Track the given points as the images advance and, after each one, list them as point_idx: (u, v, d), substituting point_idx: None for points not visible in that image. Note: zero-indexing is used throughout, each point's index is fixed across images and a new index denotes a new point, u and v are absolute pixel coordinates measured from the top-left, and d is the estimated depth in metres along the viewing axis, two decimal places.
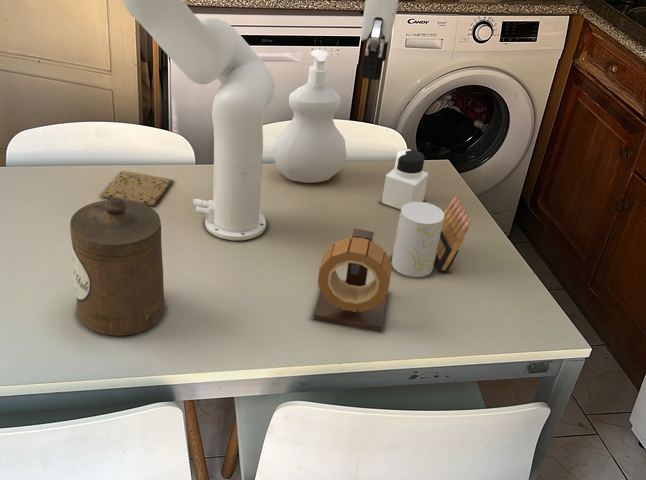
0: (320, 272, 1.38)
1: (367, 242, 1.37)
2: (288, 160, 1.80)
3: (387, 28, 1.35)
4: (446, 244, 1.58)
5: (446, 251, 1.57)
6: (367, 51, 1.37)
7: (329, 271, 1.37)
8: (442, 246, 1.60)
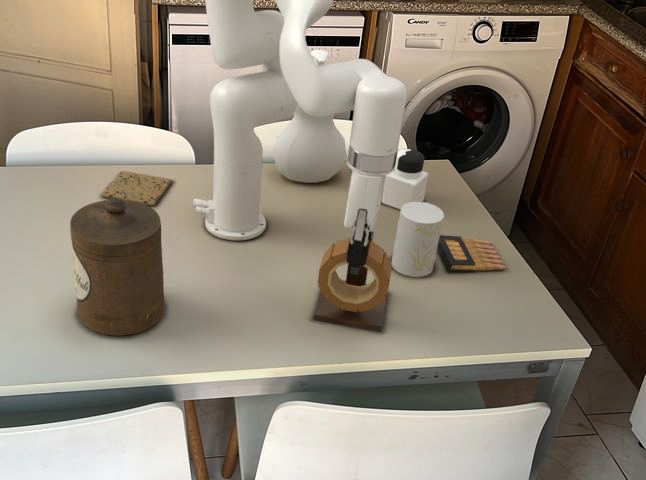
0: (320, 272, 1.38)
1: (367, 242, 1.37)
2: (288, 160, 1.80)
3: (372, 219, 1.27)
4: (470, 257, 1.60)
5: (468, 261, 1.59)
6: (351, 241, 1.31)
7: (329, 271, 1.37)
8: (460, 254, 1.61)
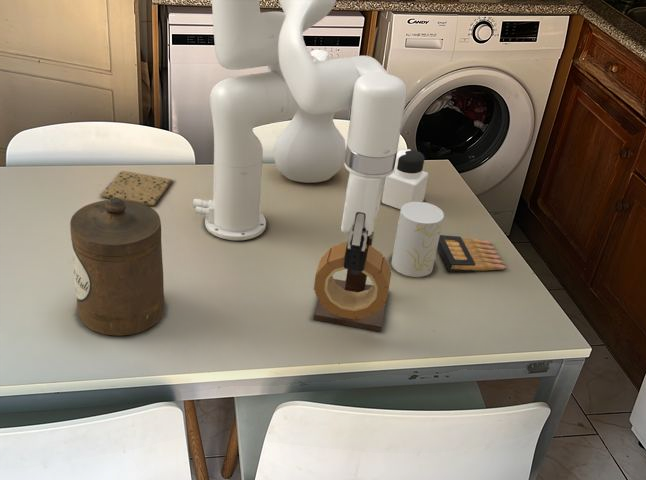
0: (316, 278, 1.32)
1: (365, 247, 1.32)
2: (288, 160, 1.80)
3: (370, 223, 1.22)
4: (470, 257, 1.60)
5: (468, 261, 1.59)
6: (349, 246, 1.26)
7: (326, 277, 1.32)
8: (460, 254, 1.61)
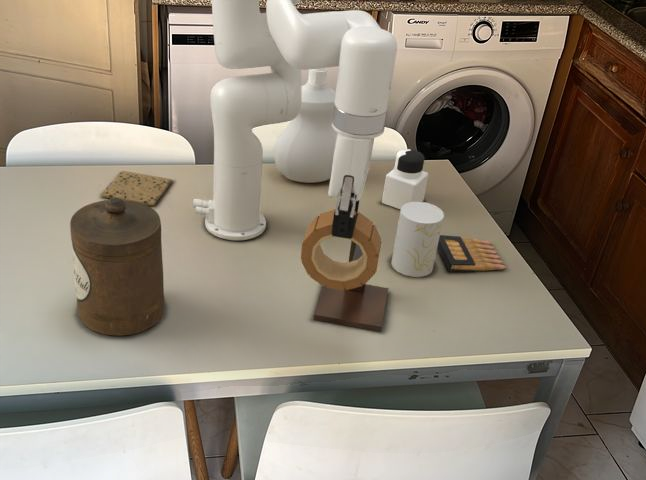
0: (303, 247, 1.26)
1: (354, 214, 1.26)
2: (288, 160, 1.80)
3: (359, 186, 1.16)
4: (470, 257, 1.60)
5: (468, 261, 1.59)
6: (337, 212, 1.20)
7: (313, 246, 1.26)
8: (460, 254, 1.61)
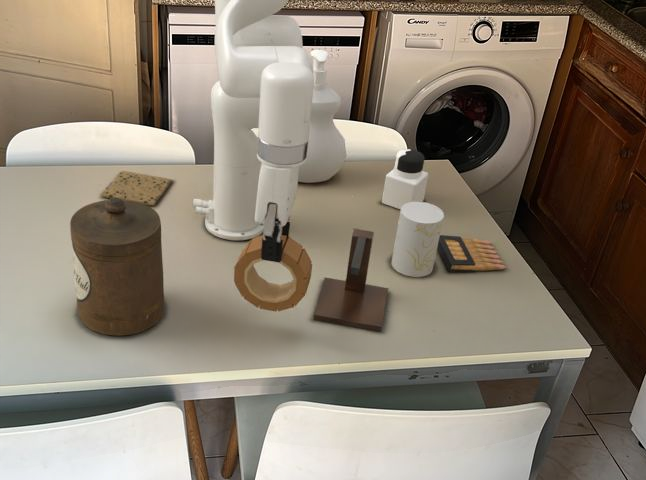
0: (236, 270, 1.32)
1: (284, 238, 1.31)
2: None
3: (283, 213, 1.21)
4: (470, 257, 1.60)
5: (468, 261, 1.59)
6: (264, 237, 1.25)
7: (245, 268, 1.31)
8: (460, 254, 1.61)
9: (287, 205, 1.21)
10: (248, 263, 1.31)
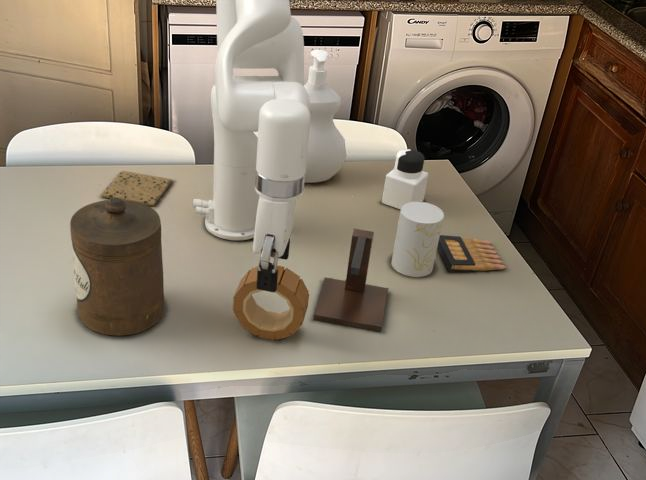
0: (234, 300, 1.35)
1: (282, 269, 1.35)
2: None
3: (280, 244, 1.25)
4: (470, 257, 1.60)
5: (468, 261, 1.59)
6: (260, 266, 1.26)
7: (243, 299, 1.35)
8: (460, 254, 1.61)
9: (284, 237, 1.24)
10: (246, 294, 1.34)
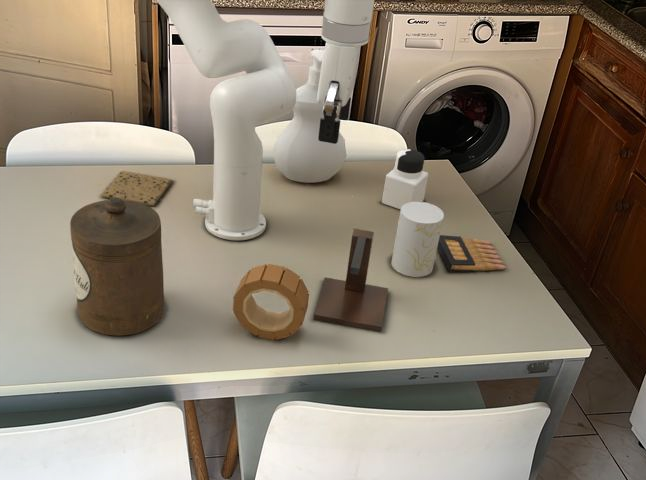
0: (234, 300, 1.35)
1: (282, 269, 1.35)
2: (288, 160, 1.80)
3: (344, 92, 1.28)
4: (470, 257, 1.60)
5: (468, 261, 1.59)
6: (323, 115, 1.30)
7: (243, 299, 1.35)
8: (460, 254, 1.61)
9: (348, 84, 1.28)
10: (247, 294, 1.34)
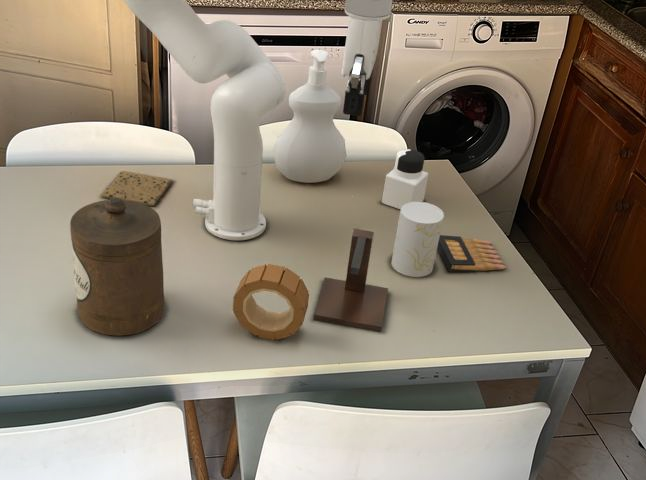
0: (234, 300, 1.35)
1: (282, 269, 1.35)
2: (288, 160, 1.80)
3: (368, 65, 1.33)
4: (470, 257, 1.60)
5: (468, 261, 1.59)
6: (348, 88, 1.35)
7: (243, 299, 1.35)
8: (460, 254, 1.61)
9: (372, 57, 1.33)
10: (247, 294, 1.34)
